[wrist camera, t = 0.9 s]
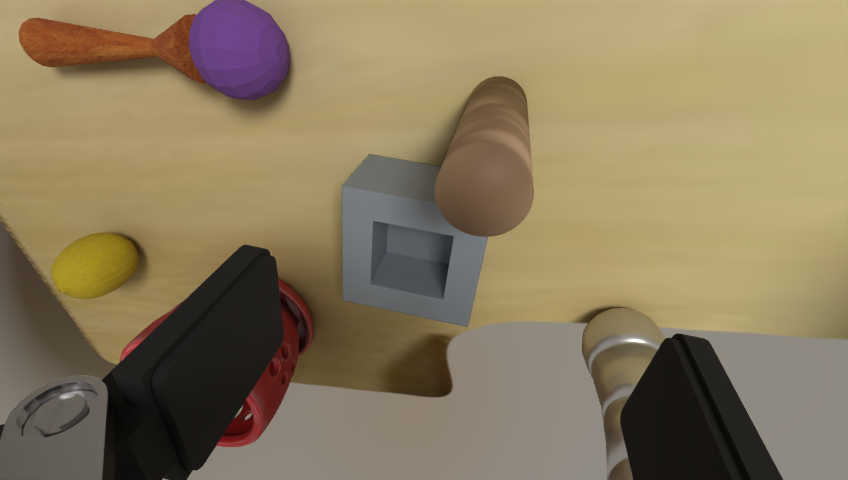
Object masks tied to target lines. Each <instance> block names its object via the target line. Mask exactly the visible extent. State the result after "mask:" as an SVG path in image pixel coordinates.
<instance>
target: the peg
mask: <svg viewBox="0 0 848 480" xmlns="http://www.w3.org/2000/svg"><path fill="white" fill-rule="evenodd" d="M533 197H534V188H533V175H532V162H531V149H530V135H529V122H528V109H527V99H526V95H525V93H524V91H523V89H522V88H521V86H520V85H519V84H518V83H516V82H515V81H513V80H512V79H509V78H506V77H492V78H489V79H486V80H484V81H483V82H481V83H480V84H479V85H478V86H477V87H476V88H475V89H474V90H473V92H472V94H471V96H470V98H469V101H468V103H467V106H466V108H465V111H464V113H463V115H462V118H461V120H460V123H459V125H458V128H457V130H456V132H455V135H454V137H453V140H452V142H451V144H450V147H449V149H448V152H447V154H446V157H445V159H444V161H443V164H442V166H441V169H440V171H439V174H438V176H437V179H436V183H435V200H436V204H437V206H438V209H439V211H440V213H441V214H442V216H443V217H444V218H445V219H446V221H447V222H448V223H450V224H451V225H452V226H453V227H455V228H456V229H458V230H460V231H462V232H464V233H466V234H469V235H473V236H480V237H489V236H496V235H500V234H503V233H506V232H508V231H510V230H512V229H513V228H515V227H516V226H517V225H519V224H520V223H521V222H522V221H523V220H524V218H525V217H526V216H527V214H528V212H529V211H530V208H531V206H532V202H533Z"/></svg>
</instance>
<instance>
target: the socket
mask: <svg viewBox="0 0 848 480" xmlns="http://www.w3.org/2000/svg"><path fill="white" fill-rule="evenodd" d="M440 169H441V166H435V165H429V164H424V163H418V162H412V161H406V160H401V159H395V158H389V157H383V156H377V155H372V154H369V155H368V156H367V157H366V159H365V160H364V161H363V162H362V163H361V164H360V166H359V167H358V168H357V169H356V170H355V171H354V173H353V174H352V175H351V176H350V177H349V178H348V179H347V181H346V182H345V183H344V184H343V185H342V268H343V300H344V301H348V302H353V303H358V304H362V305H367V306H372V307H376V308H381V309H386V310H390V311H395V312H400V313H404V314H409V315H414V316H418V317H423V318H428V319H432V320H437V321H442V322H446V323H451V324H456V325H460V326H465V327H468V324H469V319H470V315H471V310H472V306H473V302H474V297H475V293H476V288H477V284H478V279H479V275H480V270H481V266H482V261H483V257H484V252H485V248H486V243H487V239H488V237H480V236H473V235H469V234H466V233H464V232H462V231H460V230H458V229H456V228H455V227H453V226H452V225H451V224H450V223H448V222H447V221H446V219H445V218H444V217H443V216H442V214H441V213H440V211H439V209H438V206H437V204H436V200H435V183H436V179H437V176H438V174H439V171H440Z"/></svg>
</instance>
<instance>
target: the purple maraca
mask: <svg viewBox="0 0 848 480" xmlns="http://www.w3.org/2000/svg"><path fill="white" fill-rule="evenodd" d="M19 41H20V43H21V45H22V47H23V49H24V51H25V52H26V53H27V55H28V56H29V57H30V58H31V59H32V60H34V61H36V62H37V63H39V64H41V65H43V66H48V67H59V66H69V65H79V64H89V63H99V62H110V61H120V60H130V59H140V58H150V57H159V58H160V59H162V60H163V61H165V62H166V63H168V64H169V65H171V66H173V67H174V68H176V69H177V70H179V71H180V72H182V73H183V74H185V75H186V76H188V77H189V78H191V79H193V80H194V81H197V82H200V83H208V84H209V85H210V86H212V87H213V88H214V89H216V90H217V91H219V92H221V93H222V94H224V95H226V96H228V97H232V98H236V99H244V100H256V99H258V98H261V97H263V96H265V95H267V94H270V93H272V92H274V91H276V90H277V88H278V87H279V86H280V84H281V83H282V81H283V80H284V78H285V76H286V75H287V72H288V69H289V65H290V52H289V46H288V42H287V40H286V37H285V34H284V33H283V32H282V30H281V29H280V28H279V26H278V25H277V23H276V22H275V21H274V19H273V18H272V17H271V15H270V14H269V13H267V12H265V11H264V10H262V9H260V8H259V7H257V6H255V5H253V4H251V3H249V2H247V1H245V0H215V1H214V2H212V3H211V4H209V5H208V6H206V7H205V8H203V9H202V10H201V11H200V12H199V13H198V14H197V15H195V14H192V15H185V16H184V17H182V18H181V19H180V20H178V21H177V22H176V23H174V24H173V25H172V26H170V27H169V28H168V29H167V30H165V31H164V32H163V33H161V34H160V35H159V36H157V37H156V38H155V39H151V38H146V37H140V36H135V35H129V34H124V33H118V32H113V31H107V30H102V29H96V28H91V27H85V26H80V25H74V24H69V23H63V22H58V21H52V20H47V19H41V18H32V19H28V20H27V21H25V22H24V23H22V25H21V27H20V30H19Z"/></svg>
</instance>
